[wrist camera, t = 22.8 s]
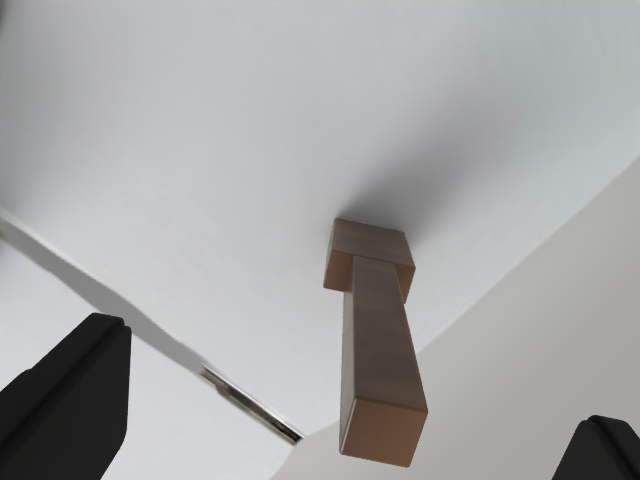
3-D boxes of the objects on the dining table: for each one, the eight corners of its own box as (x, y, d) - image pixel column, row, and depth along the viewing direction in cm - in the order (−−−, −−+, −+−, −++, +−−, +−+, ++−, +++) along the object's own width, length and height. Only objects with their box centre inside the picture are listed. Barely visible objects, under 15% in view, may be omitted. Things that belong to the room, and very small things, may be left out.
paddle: (404, 232, 26) (467, 419, 12) (395, 264, 27) (445, 477, 13) (334, 217, 26) (316, 388, 12) (327, 250, 27) (302, 448, 13)
